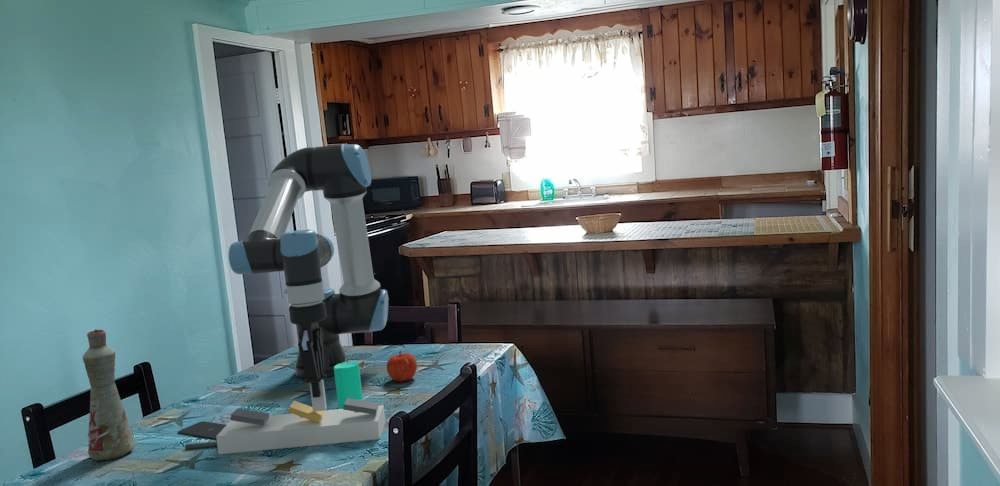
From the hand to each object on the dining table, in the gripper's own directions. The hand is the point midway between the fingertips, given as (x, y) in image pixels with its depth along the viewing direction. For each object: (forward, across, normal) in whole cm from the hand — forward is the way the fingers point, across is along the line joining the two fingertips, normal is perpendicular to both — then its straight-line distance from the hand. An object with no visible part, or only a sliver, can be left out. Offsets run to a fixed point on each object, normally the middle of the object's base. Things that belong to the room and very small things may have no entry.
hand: (319, 409), depth 154 cm
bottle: (+6, -2, -46) cm, 47 cm away
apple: (+6, -37, +14) cm, 40 cm away
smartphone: (+7, -11, -28) cm, 31 cm away
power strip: (+6, -1, -9) cm, 11 cm away
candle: (+6, -19, +3) cm, 20 cm away
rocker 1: (+1, 0, -15) cm, 15 cm away
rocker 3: (+1, 0, +9) cm, 9 cm away
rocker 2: (+1, 0, -3) cm, 3 cm away
